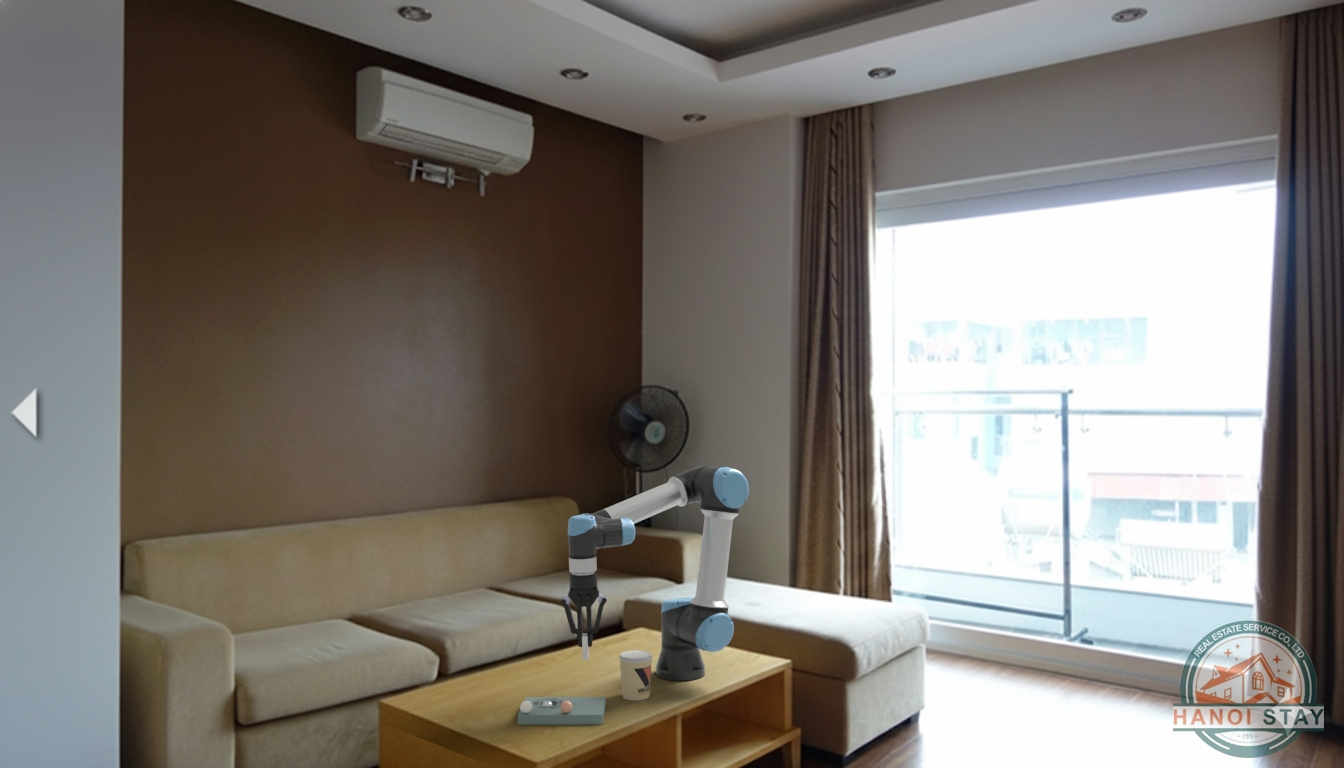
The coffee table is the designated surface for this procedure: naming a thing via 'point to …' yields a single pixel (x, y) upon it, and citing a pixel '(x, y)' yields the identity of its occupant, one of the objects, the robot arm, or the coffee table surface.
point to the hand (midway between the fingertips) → (585, 658)
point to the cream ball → (526, 706)
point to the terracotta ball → (566, 706)
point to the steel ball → (547, 703)
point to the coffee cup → (635, 674)
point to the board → (581, 713)
